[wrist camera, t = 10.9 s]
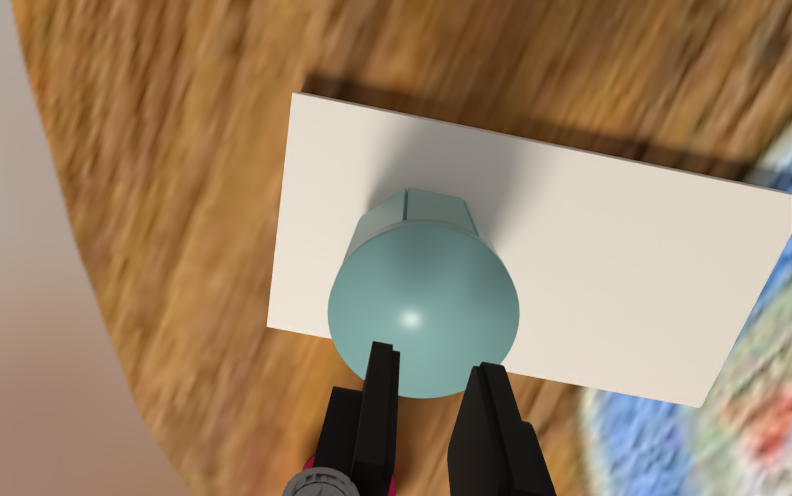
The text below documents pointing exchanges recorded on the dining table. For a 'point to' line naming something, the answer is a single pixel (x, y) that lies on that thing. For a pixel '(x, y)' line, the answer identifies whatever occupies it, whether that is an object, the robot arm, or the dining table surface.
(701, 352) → the board
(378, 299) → the cap
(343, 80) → the dining table surface
